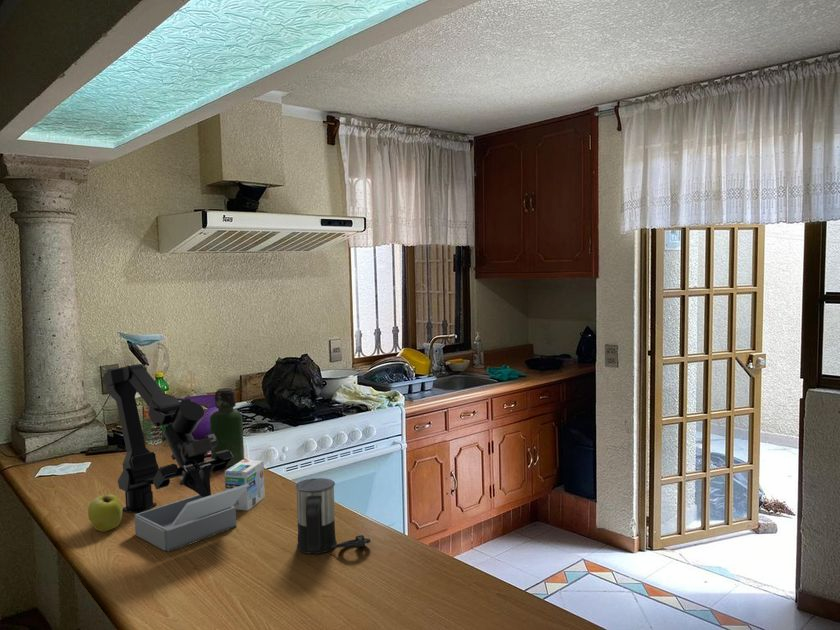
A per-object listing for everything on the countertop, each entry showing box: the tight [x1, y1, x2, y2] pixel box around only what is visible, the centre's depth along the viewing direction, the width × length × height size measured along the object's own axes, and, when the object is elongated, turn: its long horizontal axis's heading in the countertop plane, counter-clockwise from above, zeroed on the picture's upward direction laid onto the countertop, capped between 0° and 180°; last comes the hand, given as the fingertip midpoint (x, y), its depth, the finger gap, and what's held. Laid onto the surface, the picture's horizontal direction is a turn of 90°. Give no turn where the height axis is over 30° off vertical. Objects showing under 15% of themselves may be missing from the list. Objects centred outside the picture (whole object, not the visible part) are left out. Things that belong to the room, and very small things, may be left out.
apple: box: [87, 491, 124, 532], centre depth 158 cm, size 8×8×10 cm
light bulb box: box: [224, 459, 266, 511], centre depth 175 cm, size 11×7×11 cm, turn 168°
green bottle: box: [209, 387, 245, 468], centre depth 211 cm, size 10×10×25 cm
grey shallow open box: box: [134, 494, 237, 553], centre depth 157 cm, size 16×19×5 cm
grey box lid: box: [171, 484, 249, 527], centre depth 149 cm, size 1×16×10 cm
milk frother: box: [294, 477, 371, 555], centre depth 146 cm, size 14×16×15 cm
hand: (209, 498), depth 149 cm, fingers closed
